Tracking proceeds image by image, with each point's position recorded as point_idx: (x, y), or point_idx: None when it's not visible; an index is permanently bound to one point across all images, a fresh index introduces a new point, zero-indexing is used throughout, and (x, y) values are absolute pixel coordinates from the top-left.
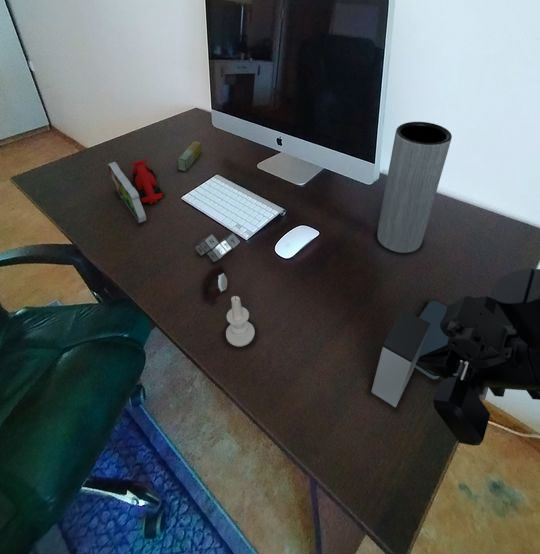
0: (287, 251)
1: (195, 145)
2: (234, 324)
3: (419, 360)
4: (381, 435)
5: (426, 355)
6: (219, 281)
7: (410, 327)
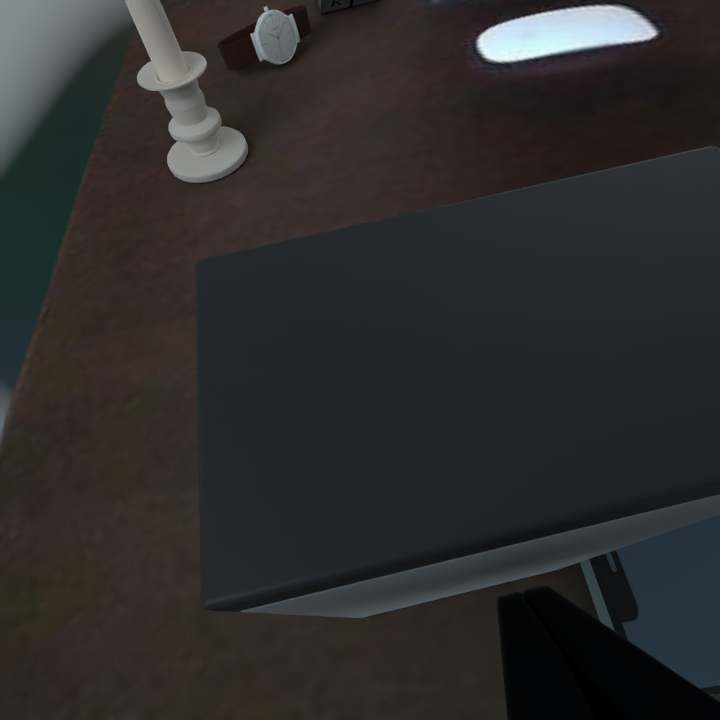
0: (510, 47)
1: None
2: (140, 82)
3: (502, 612)
4: (218, 648)
5: (587, 646)
6: (259, 21)
7: (618, 298)
